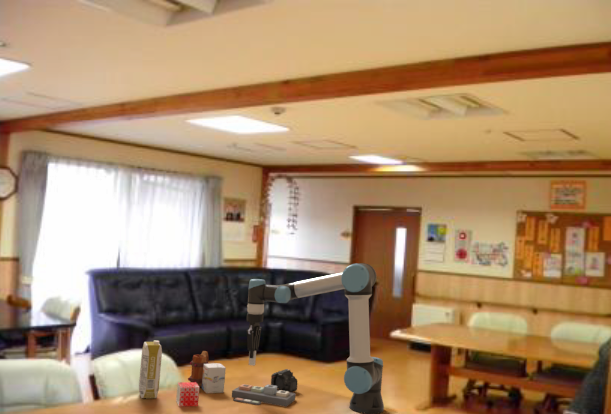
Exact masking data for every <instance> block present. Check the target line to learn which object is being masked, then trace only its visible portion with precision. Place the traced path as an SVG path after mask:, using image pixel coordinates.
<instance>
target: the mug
mask: <svg viewBox="0 0 611 414" xmlns="http://www.w3.org/2000/svg"><path fill="white" fill-rule="evenodd" d="M204 364H209V351H206V350H202V352H201V354H193V356H192V359H191V361H190V362H189V365H191V373H190V374H191V375H190V376H189V377H188V378H187V380H188V381H189V382H196V383H197V384H198V386H199V388H200V387H201V388H202V379H203V367H204Z"/></svg>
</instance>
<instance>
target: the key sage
mask: <svg viewBox="0 0 611 414" xmlns="http://www.w3.org/2000/svg"><path fill="white" fill-rule="evenodd" d="M251 392H257V393H262V392H264V386H263V387H262V386H257V385H255V386H254V387H253V388H251Z"/></svg>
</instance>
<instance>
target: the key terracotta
mask: <svg viewBox="0 0 611 414" xmlns="http://www.w3.org/2000/svg"><path fill="white" fill-rule="evenodd" d="M252 386H253V385H251V384H246V383H242V384H241V385H239V386H238V387H239V390H245V391H250V390H251V388H252Z"/></svg>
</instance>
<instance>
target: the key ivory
mask: <svg viewBox="0 0 611 414" xmlns="http://www.w3.org/2000/svg"><path fill="white" fill-rule="evenodd" d="M276 396H280V397H288V396H289V392H288V391H283V390H279V389H278V392H276Z"/></svg>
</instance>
